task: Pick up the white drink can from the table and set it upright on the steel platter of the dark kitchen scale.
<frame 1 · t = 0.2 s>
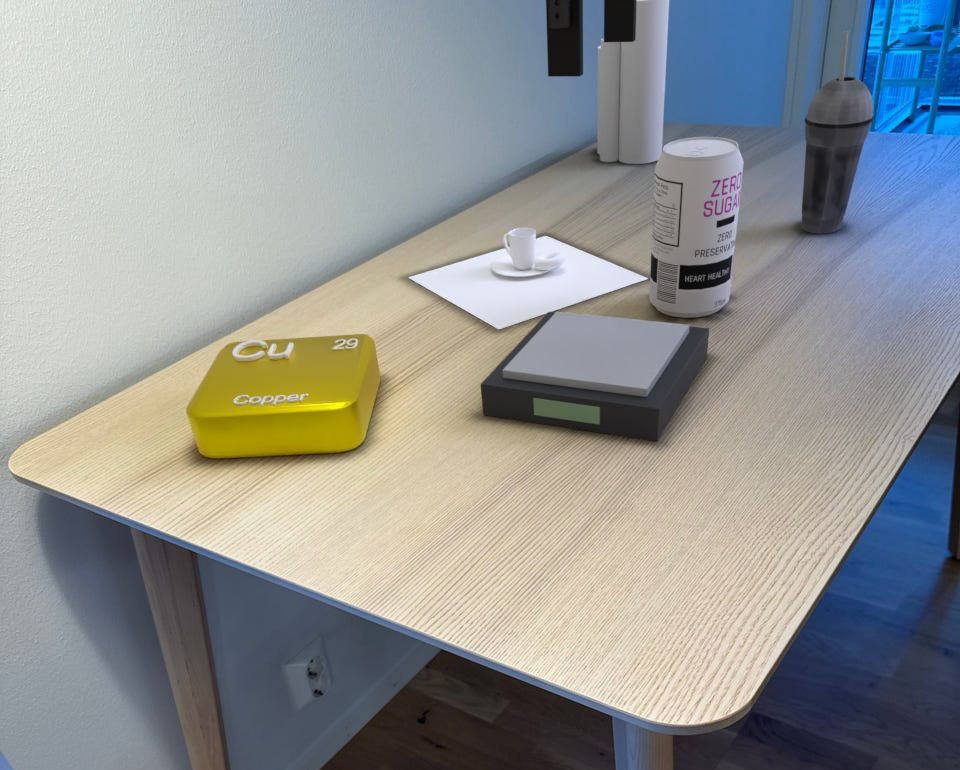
hand: (594, 58, 77), 24 cm above the table, tool pointing down, fingers open, 13 cm apart
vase: (625, 157, 138), on the table
element tile: (294, 417, 84), on the table
beverage cup: (820, 228, 109), on the table
scale: (597, 386, 83), on the table
white drink can: (688, 306, 95), on the table
teacup and saucer: (524, 279, 104), on the table
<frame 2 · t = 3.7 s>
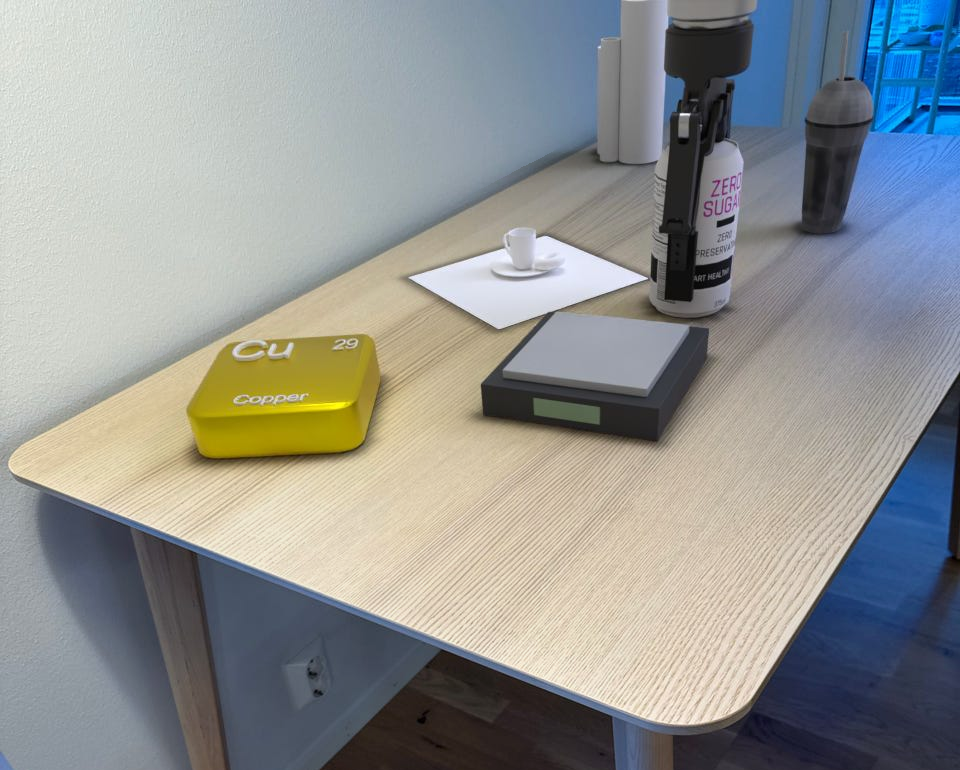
hand: (690, 282, 93), 2 cm above the table, tool pointing down, fingers closed on white drink can, 8 cm apart
white drink can: (688, 306, 95), on the table, touching gripper
everything else where it was.
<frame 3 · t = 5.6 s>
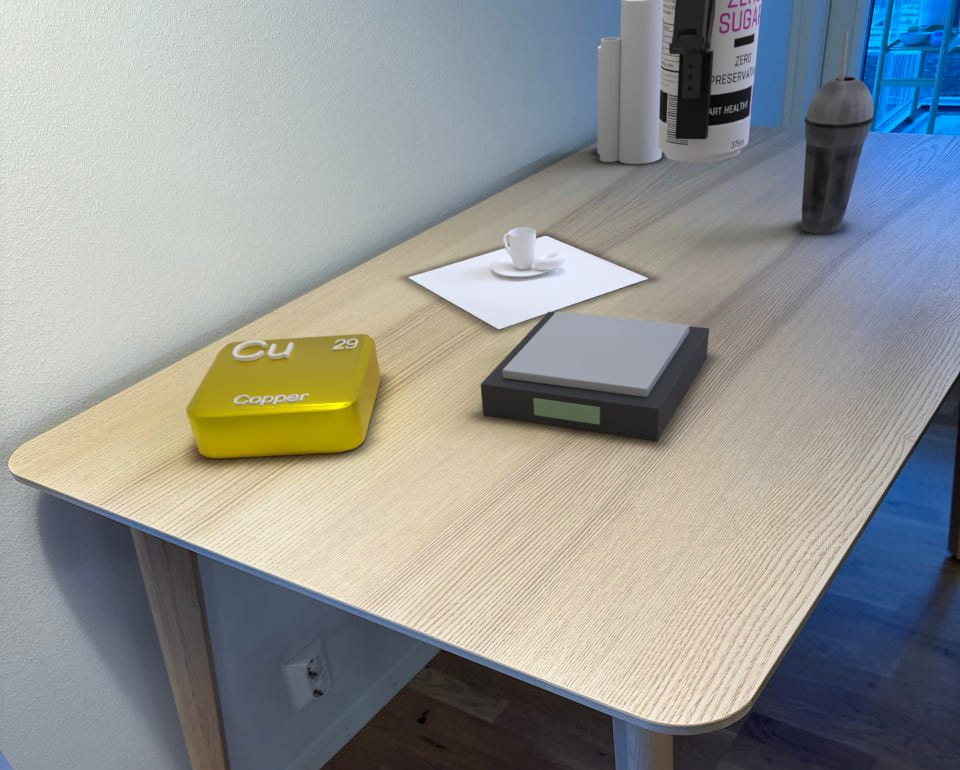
hand: (704, 124, 83), 17 cm above the table, tool pointing down, fingers closed on white drink can, 8 cm apart
white drink can: (702, 154, 85), point 14 cm above the table, touching gripper
everything else where it was.
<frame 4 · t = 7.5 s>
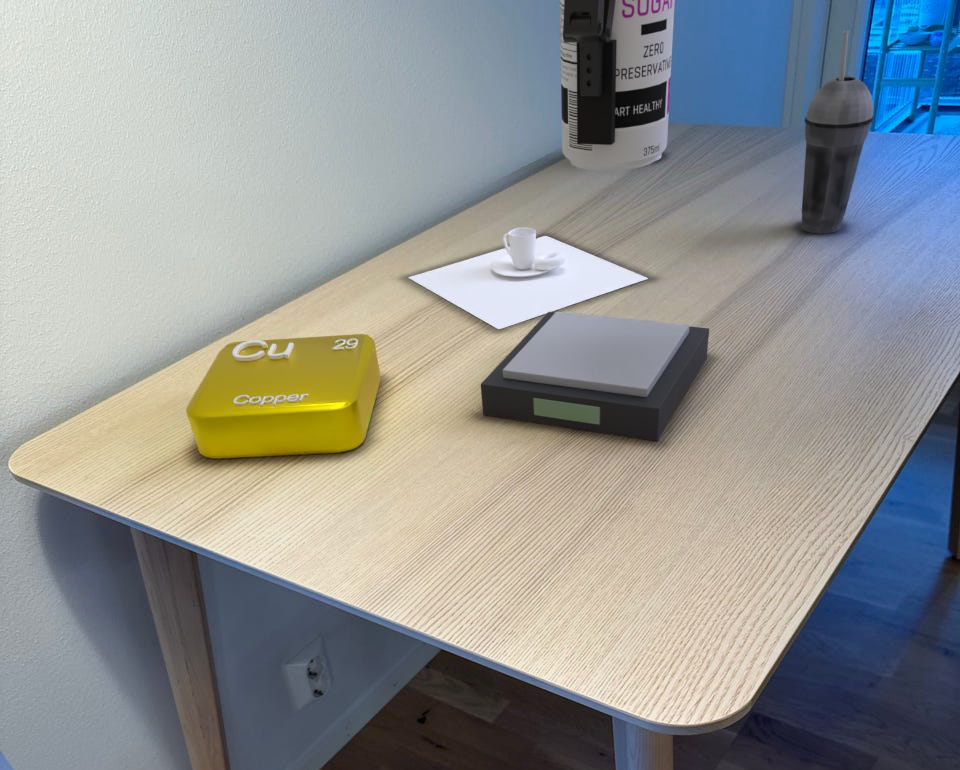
hand: (615, 127, 71), 21 cm above the table, tool pointing down, fingers closed on white drink can, 8 cm apart
white drink can: (614, 161, 73), point 18 cm above the table, touching gripper
everything else where it was.
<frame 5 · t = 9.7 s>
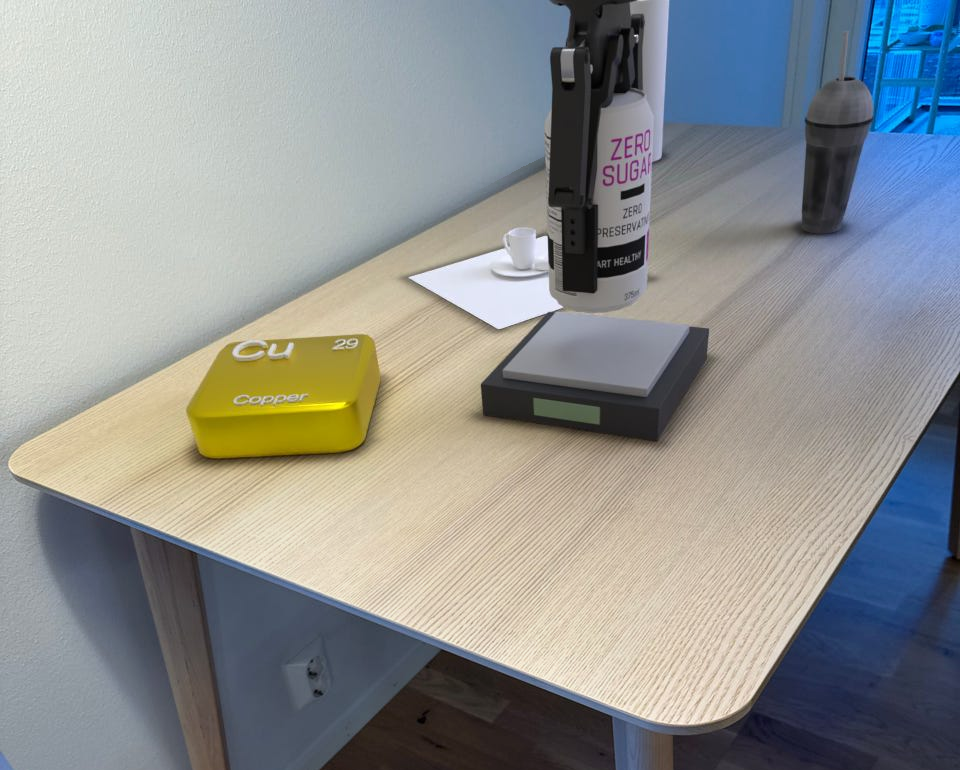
hand: (598, 270, 76), 11 cm above the table, tool pointing down, fingers closed on white drink can, 8 cm apart
white drink can: (597, 299, 78), point 8 cm above the table, touching gripper
everything else where it was.
when the fingers open (6 cm above the table, at t = 11.3 s): white drink can stays where it is, resting on scale.
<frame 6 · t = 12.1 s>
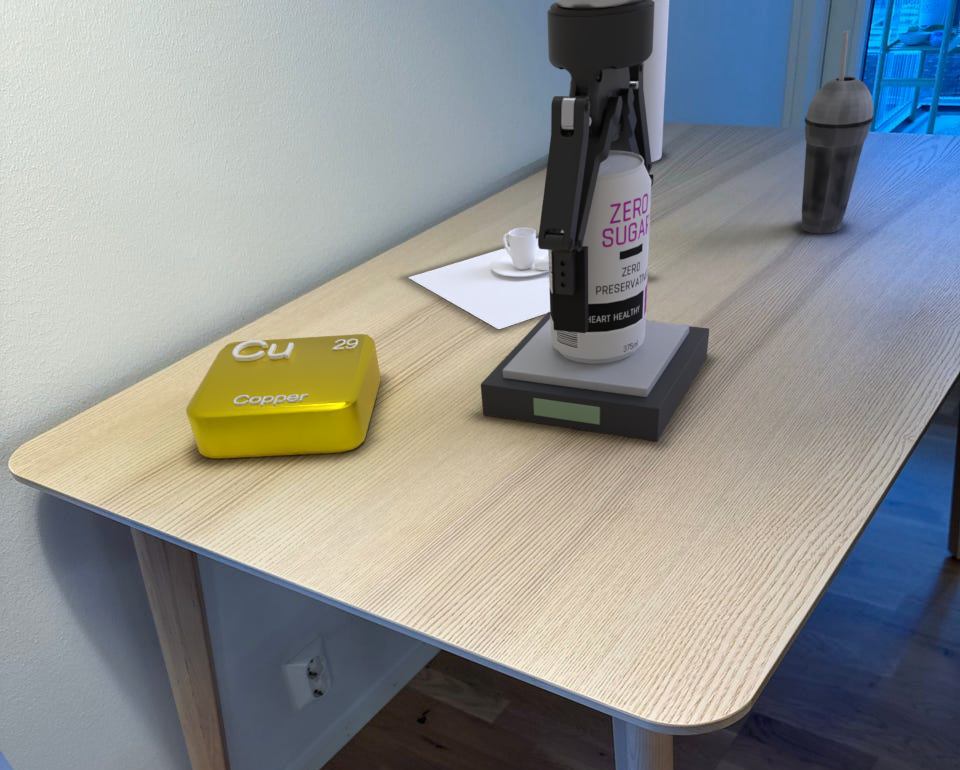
hand: (599, 297, 78), 8 cm above the table, tool pointing down, fingers open, 13 cm apart
white drink can: (597, 348, 81), point 4 cm above the table, touching scale
everything else where it was.
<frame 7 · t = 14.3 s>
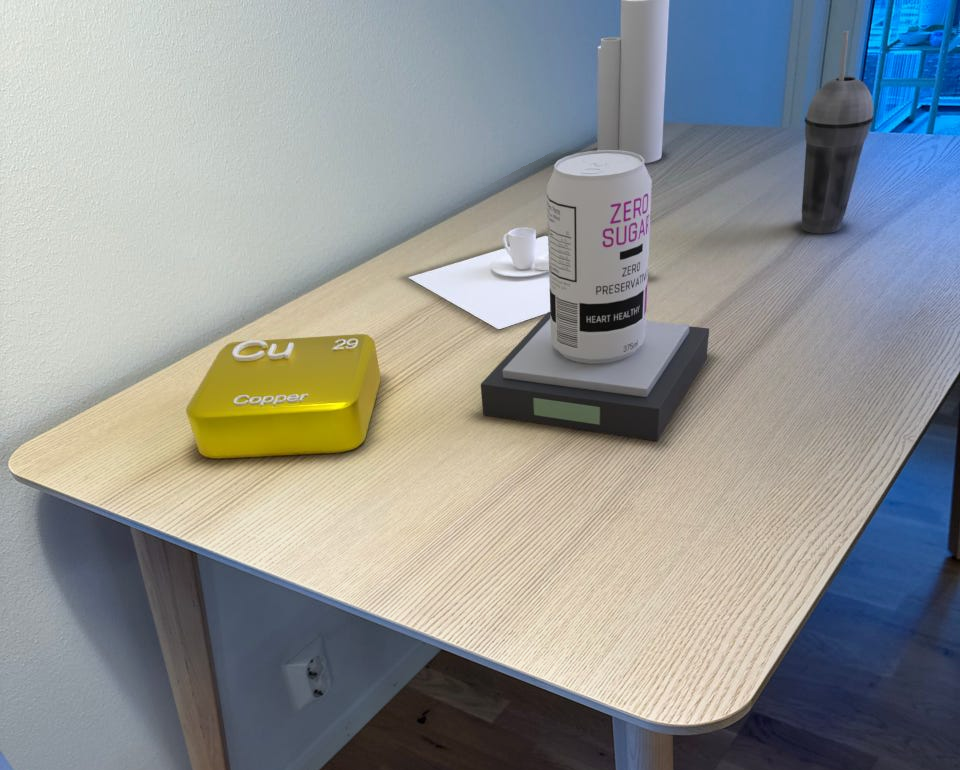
nothing on the table moved.
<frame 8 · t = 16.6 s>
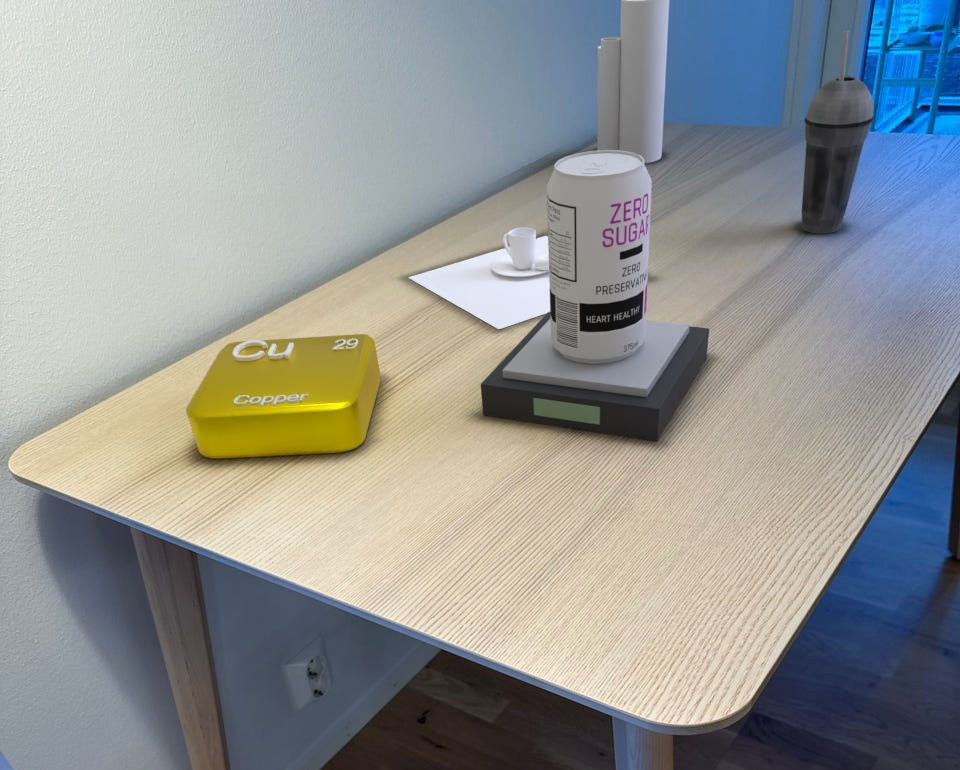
nothing on the table moved.
at the end: white drink can inside the target area on the scale (0.0 cm from its centre), point 3.6 cm above the scale's base; white drink can tilted 0°; the gripper is holding nothing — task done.
